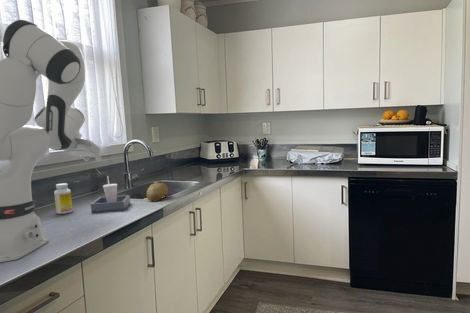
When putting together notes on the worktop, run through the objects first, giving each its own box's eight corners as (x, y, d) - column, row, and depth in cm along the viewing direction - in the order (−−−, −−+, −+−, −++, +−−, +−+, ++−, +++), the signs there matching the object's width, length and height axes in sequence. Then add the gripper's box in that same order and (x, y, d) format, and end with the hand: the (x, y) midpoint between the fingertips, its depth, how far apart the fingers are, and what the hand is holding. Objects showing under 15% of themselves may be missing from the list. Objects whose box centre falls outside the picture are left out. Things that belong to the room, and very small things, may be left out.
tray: (124, 210, 154) (123, 201, 153) (91, 213, 152) (90, 204, 152) (130, 203, 167) (129, 195, 167) (100, 205, 166) (99, 197, 165)
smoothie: (104, 205, 161) (101, 175, 160) (119, 203, 164) (116, 174, 162) (104, 208, 155) (101, 177, 154) (119, 206, 158) (116, 175, 156)
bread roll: (172, 195, 182) (171, 180, 182) (162, 202, 168) (161, 185, 167) (154, 195, 184) (153, 180, 183) (143, 202, 169) (142, 186, 168)
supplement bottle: (76, 210, 158) (73, 182, 156) (65, 214, 151) (62, 185, 150) (63, 210, 160) (61, 182, 158) (52, 214, 153) (49, 185, 152)
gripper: (88, 132, 140) (112, 154, 148) (63, 134, 152) (86, 154, 161) (79, 144, 136) (103, 166, 145) (54, 145, 149) (78, 165, 157)
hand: (94, 160), depth 153 cm, fingers open, 8 cm apart
